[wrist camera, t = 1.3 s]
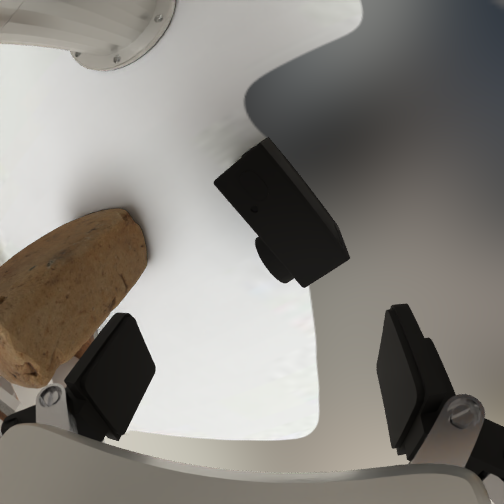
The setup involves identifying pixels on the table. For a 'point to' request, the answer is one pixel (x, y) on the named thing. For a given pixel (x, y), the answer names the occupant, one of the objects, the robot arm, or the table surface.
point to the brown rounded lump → (65, 292)
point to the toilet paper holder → (18, 398)
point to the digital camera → (283, 216)
